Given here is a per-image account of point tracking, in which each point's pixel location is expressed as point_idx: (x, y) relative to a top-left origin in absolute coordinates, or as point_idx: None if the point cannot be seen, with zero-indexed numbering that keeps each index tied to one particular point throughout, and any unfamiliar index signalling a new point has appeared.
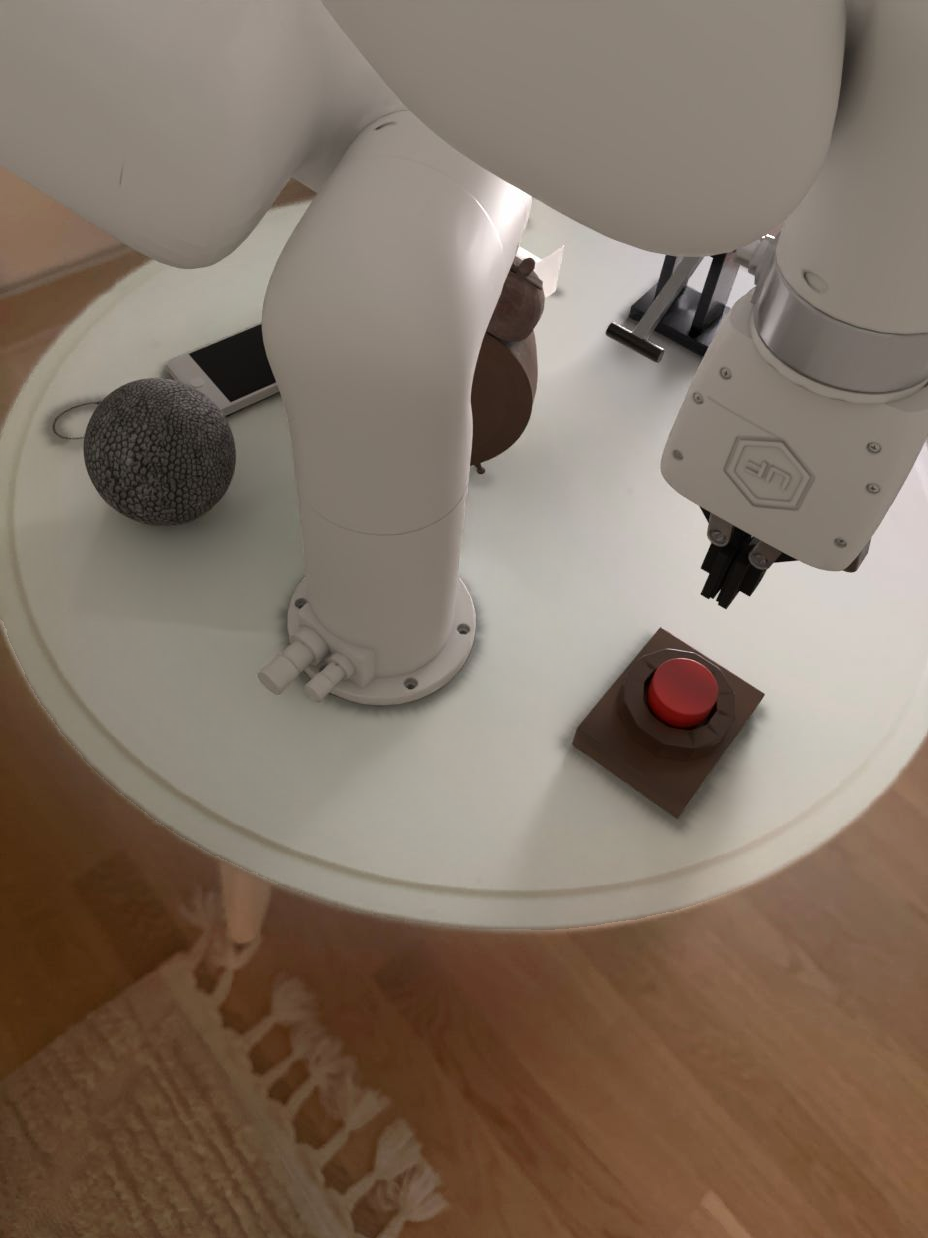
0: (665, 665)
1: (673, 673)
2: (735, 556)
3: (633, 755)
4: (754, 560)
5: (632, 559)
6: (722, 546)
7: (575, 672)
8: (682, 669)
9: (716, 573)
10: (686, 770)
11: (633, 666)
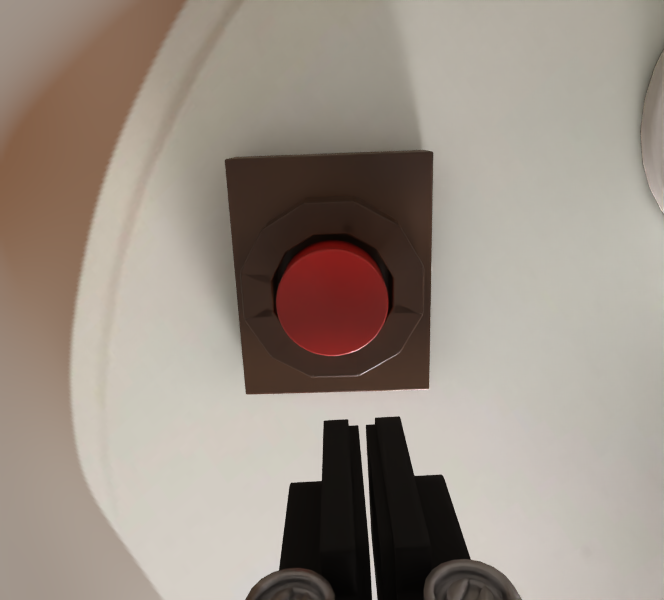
0: (380, 314)
1: (361, 310)
2: (379, 562)
3: (335, 173)
4: (310, 589)
5: (522, 463)
6: (432, 570)
7: (487, 255)
8: (354, 327)
9: (395, 479)
10: (259, 209)
11: (423, 290)
